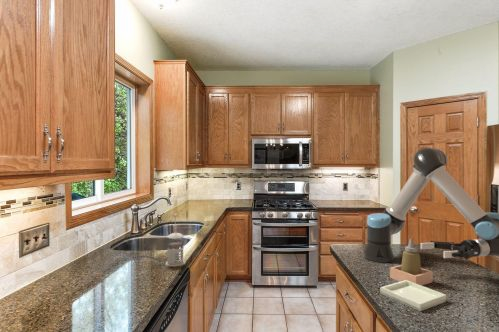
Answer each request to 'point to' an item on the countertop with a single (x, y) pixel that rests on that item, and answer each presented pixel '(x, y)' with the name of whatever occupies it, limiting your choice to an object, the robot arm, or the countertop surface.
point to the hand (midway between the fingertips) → (432, 250)
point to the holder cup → (411, 276)
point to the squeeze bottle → (411, 260)
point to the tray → (413, 295)
